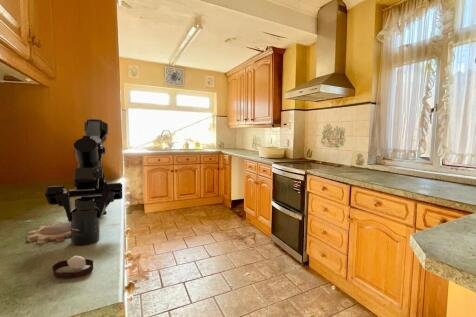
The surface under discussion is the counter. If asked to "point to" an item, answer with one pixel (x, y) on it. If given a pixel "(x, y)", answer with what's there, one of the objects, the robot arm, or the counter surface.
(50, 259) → the counter surface
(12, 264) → the counter surface
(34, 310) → the counter surface
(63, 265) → the watch
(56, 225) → the sprocket wheel
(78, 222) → the supplement bottle
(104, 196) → the robot arm
